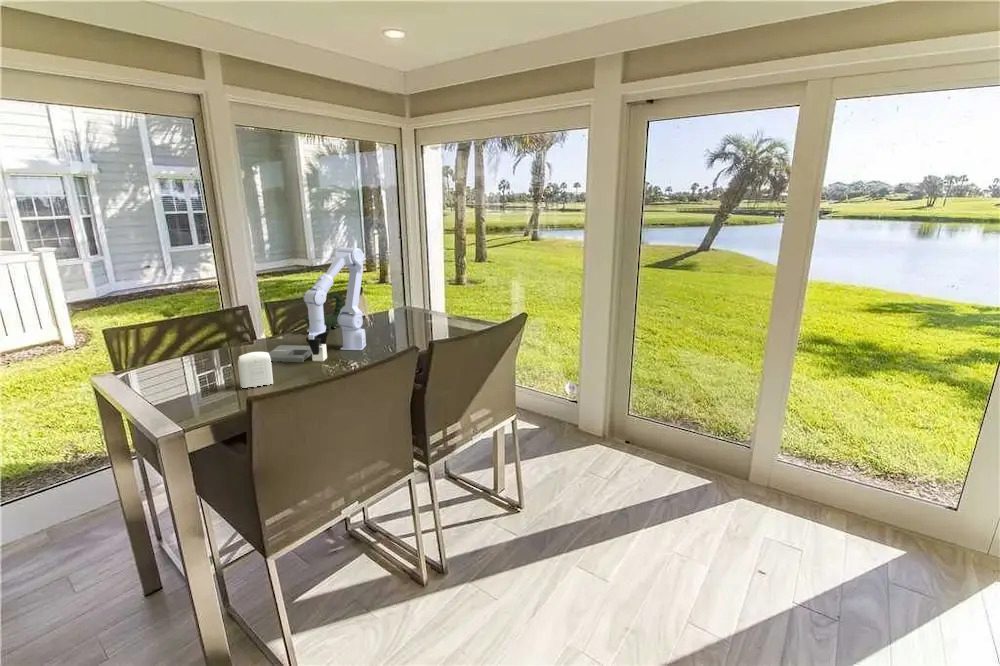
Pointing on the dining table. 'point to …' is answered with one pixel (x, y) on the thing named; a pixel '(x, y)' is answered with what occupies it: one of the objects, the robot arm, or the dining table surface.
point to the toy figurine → (332, 320)
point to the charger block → (320, 353)
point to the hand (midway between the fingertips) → (319, 351)
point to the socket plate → (290, 353)
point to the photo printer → (255, 369)
